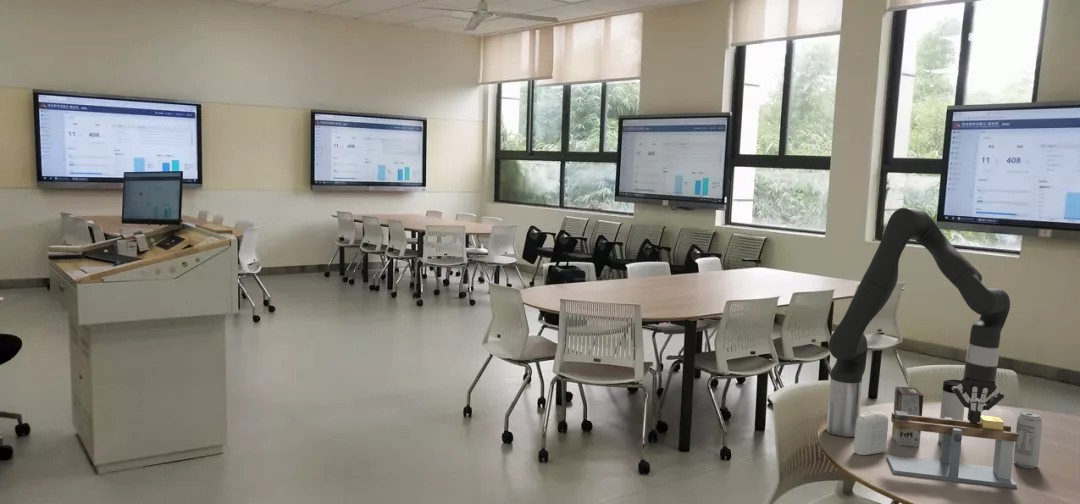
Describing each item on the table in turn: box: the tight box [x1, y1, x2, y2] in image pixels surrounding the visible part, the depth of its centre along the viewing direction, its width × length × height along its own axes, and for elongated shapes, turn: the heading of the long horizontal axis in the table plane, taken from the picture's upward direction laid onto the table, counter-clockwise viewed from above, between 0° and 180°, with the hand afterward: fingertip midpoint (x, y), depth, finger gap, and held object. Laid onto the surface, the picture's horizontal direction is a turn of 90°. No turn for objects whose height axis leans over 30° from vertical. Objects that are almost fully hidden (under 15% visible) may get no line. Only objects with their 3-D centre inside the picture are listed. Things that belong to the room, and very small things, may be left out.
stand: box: [886, 417, 1018, 489], centre depth 214 cm, size 30×13×14 cm, turn 74°
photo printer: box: [853, 410, 889, 456], centre depth 229 cm, size 10×4×12 cm, turn 115°
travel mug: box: [938, 379, 967, 445], centre depth 237 cm, size 6×7×20 cm
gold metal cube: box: [978, 414, 1005, 431], centre depth 211 cm, size 5×4×4 cm
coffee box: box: [891, 386, 924, 448], centre depth 239 cm, size 9×6×16 cm
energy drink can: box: [1013, 411, 1043, 469], centre depth 221 cm, size 6×6×15 cm
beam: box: [890, 411, 1018, 443], centre depth 213 cm, size 30×7×4 cm, turn 74°
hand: (973, 423), depth 212 cm, fingers closed
